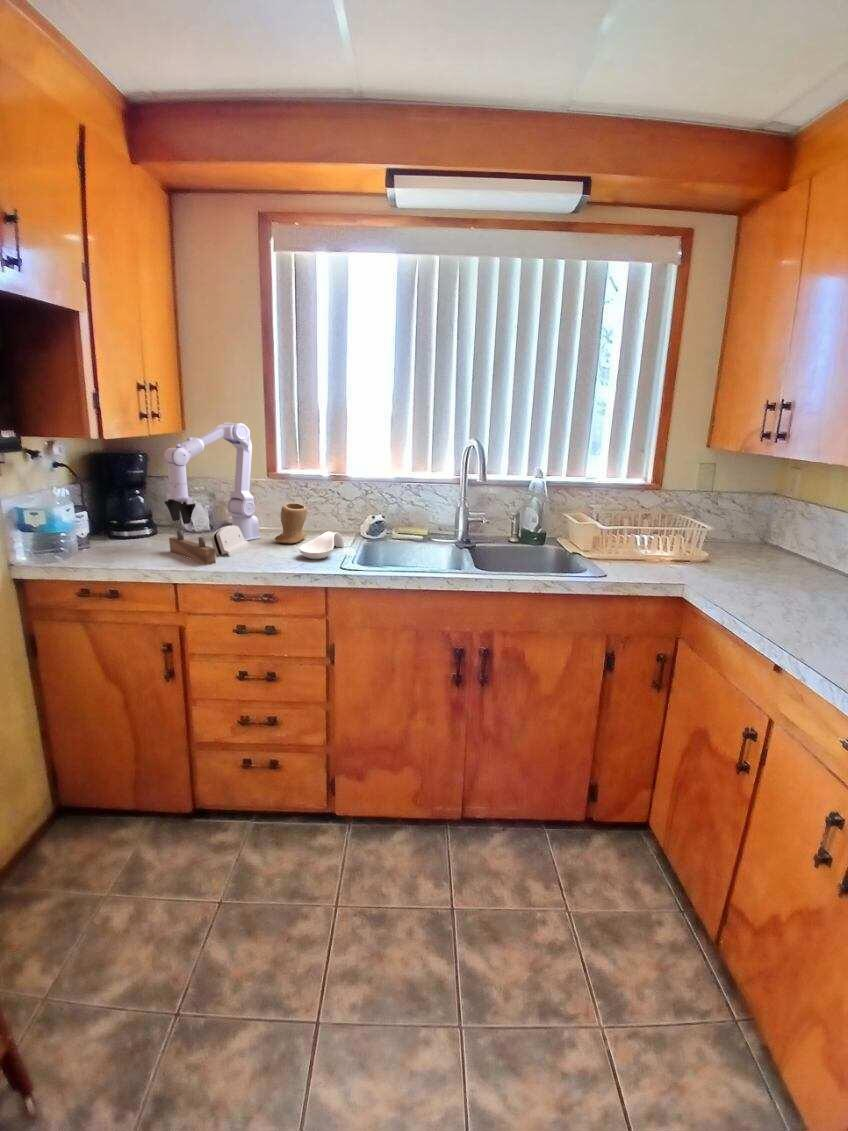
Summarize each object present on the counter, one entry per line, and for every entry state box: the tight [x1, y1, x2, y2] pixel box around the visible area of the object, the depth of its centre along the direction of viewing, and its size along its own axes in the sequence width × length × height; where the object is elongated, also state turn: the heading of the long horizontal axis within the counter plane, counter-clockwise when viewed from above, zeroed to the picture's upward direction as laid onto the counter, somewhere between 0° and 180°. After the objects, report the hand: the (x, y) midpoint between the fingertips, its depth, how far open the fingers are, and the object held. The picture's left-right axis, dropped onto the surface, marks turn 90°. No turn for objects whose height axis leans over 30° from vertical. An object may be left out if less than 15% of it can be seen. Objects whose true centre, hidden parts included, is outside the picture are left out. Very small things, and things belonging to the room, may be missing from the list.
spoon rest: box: [298, 531, 345, 560], centre depth 202 cm, size 24×12×7 cm, turn 163°
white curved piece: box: [210, 525, 251, 557], centre depth 201 cm, size 17×5×10 cm, turn 172°
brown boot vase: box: [274, 502, 308, 544], centre depth 218 cm, size 15×12×15 cm
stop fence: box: [168, 530, 217, 565], centre depth 190 cm, size 3×24×8 cm, turn 50°
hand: (181, 522), depth 198 cm, fingers open, 7 cm apart
